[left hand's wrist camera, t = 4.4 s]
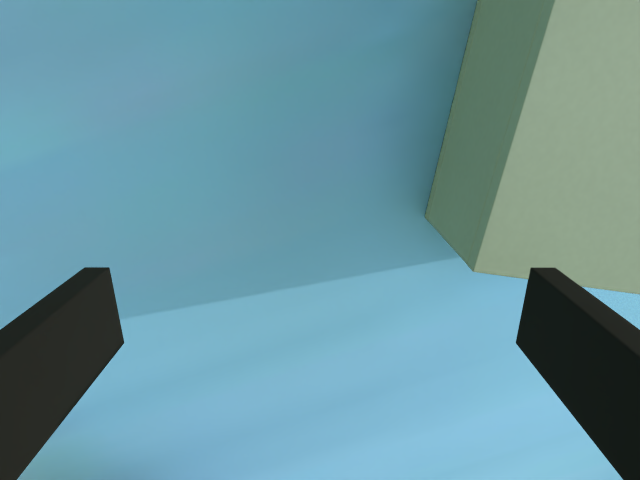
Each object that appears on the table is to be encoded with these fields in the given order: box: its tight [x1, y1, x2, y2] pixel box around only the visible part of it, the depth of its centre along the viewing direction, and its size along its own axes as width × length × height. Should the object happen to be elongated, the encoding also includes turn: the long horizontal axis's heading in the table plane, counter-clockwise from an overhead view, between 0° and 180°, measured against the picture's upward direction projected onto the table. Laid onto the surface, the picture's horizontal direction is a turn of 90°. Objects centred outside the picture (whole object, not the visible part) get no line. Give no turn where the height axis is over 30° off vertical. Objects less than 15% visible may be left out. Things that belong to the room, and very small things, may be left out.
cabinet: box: [425, 0, 640, 294], centre depth 23 cm, size 20×12×10 cm, turn 172°
